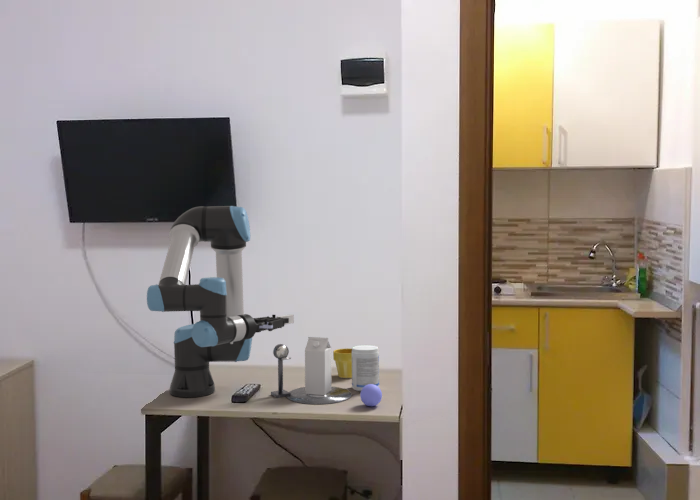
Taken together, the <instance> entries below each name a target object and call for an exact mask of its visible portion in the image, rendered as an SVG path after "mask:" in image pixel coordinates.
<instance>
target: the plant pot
mask: <svg viewBox="0 0 700 500" xmlns="http://www.w3.org/2000/svg"><path fill="white" fill-rule="evenodd" d="M332 353H333V355H332V356H333V361H334V362H335V366H336V371H337V375H338V378H341V379H352V348H346V347H345V348H337V349H334V350H333V352H332Z"/></svg>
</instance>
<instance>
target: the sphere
mask: <svg viewBox="0 0 700 500" xmlns="http://www.w3.org/2000/svg"><path fill="white" fill-rule="evenodd" d="M359 393H360V395H359V396H360V400H361V401H362V403H363V405H365V406H367V407H376V406H377V405H379V403H380V402H381V401H382V399H383V392H382V390H381V388H380V386H379V387H378V386H376V385H374V384H368V385H366V386H364V387H363V388H362V390H361V391H360V392H359Z"/></svg>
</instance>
